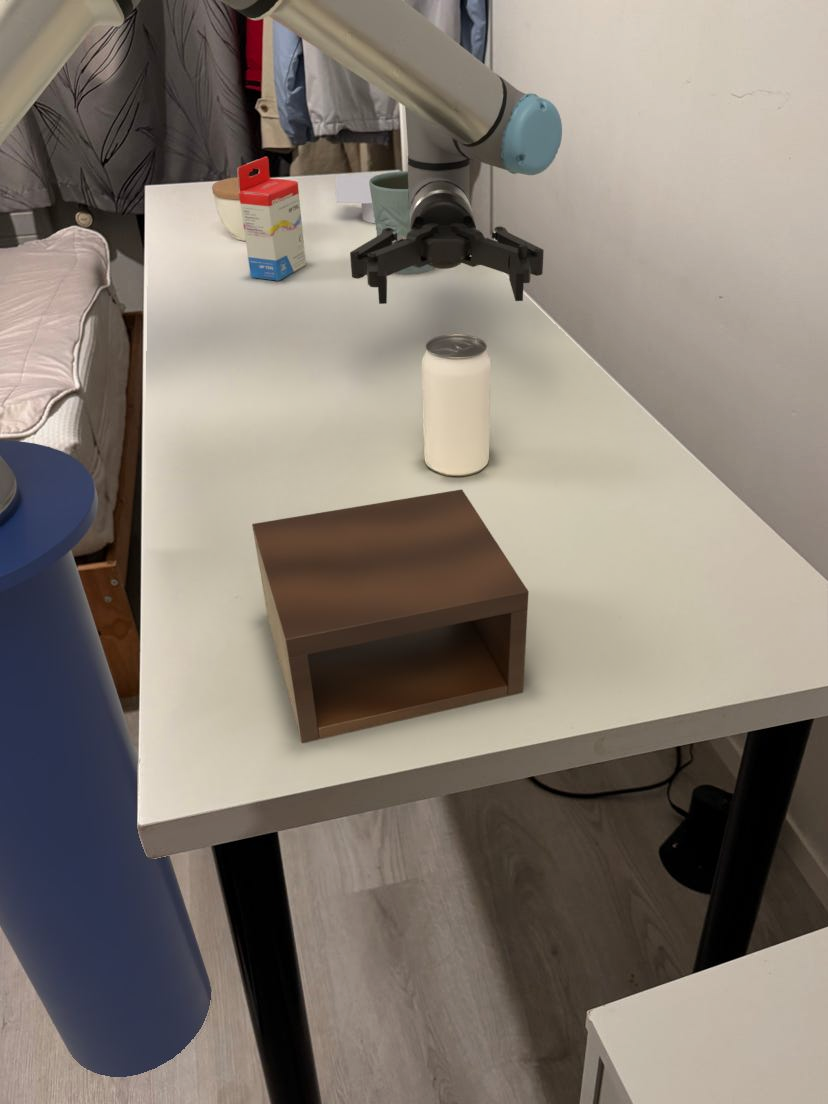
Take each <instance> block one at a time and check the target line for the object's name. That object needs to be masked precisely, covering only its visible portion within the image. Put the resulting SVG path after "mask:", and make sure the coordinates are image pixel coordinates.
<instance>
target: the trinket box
mask: <svg viewBox="0 0 828 1104" xmlns="http://www.w3.org/2000/svg"><path fill="white" fill-rule="evenodd" d="M252 176H253V175H251V176H250V175H249V177H252ZM270 179H272V178H271V177H270ZM211 189H212V190H211V191H212V194H213V198H214V199H213V200H214V203H215V208H216V211H217V212H216V213H217V215H218V217H219V220H220V222H221V223H222V226H223V227H224V228H225V229H226V230H227V231H228V233H230V234H232V235H233V237H234V239H236V240H238V241H243V242H246V239H245V232H244V225H243V218H242V212H241V205H240V198H239V184H238V176H235V177H228V178H224V179H221V180H218V181H216V182H214V183H213V184H212V186H211Z"/></svg>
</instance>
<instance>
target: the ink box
mask: <svg viewBox="0 0 828 1104" xmlns="http://www.w3.org/2000/svg"><path fill="white" fill-rule="evenodd" d="M269 160H270V159H269V157H268V156H264V157H261V158H258V159H255V160H253V161H250V162H247V163H246V164H243V165H240V166H238V167H237V169H236V171H237V172H236V173H237V177H238V184H239V198H240V205H241V212H242V218H243V225H244V232H245V239H246V241H245V246H246V252H247V259H248V266H249V274H250V277H251V278H254V279H261V280H268V281H277V282H278V281H279V282H280V281H281V280H282V279H285V278H287V277H288V276H290V275H291V274H293V273H295V272H296V271H298V270H300V269H302V268H303V267H305V266H306V265H307V260H306V252H305V250H306V249H305V240H304V229H303V220H302V213H301V212H302V211H301V203H300V201H301V200H300V190H299V182H298V181H296V180H291V179H285V178H283V179H282V178H271V176H270V161H269ZM253 170H258V173H256V174H254V175H251V176H252V177H249V176H250V173H251V172H253ZM270 178H271V179H270Z"/></svg>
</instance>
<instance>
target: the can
mask: <svg viewBox="0 0 828 1104" xmlns="http://www.w3.org/2000/svg"><path fill="white" fill-rule="evenodd" d="M487 347H488V346H487V343H486V342H485V341H484V340H483V339H481V338H479V337H476V336H473V335H470V334H469V335H468V334H459V333H455V334H454V333H453V334H451V333H450V334H444V335H439V336H436V337H433V338H431V339H429V340H428V341H427V342H426V344H425V350H426V351H425V353H424V355H423V358H422V360H421V390H422V391H421V392H422V393H421V394H422V425H423V426H422V429H423V431H422V432H423V454H424V455H423V456H424V462H425V464H426V466H427V467H429V469H430V470H431V471H433V472H435V473H437V474H440V475H443V476H447V477H466V476H472V475H475V474H477V473H479V472H481V471H482V470H483V469H484V468H485V467H486V465H488V463H489V460H490V459H489V458H490V435H491V434H490V431H491V429H490V426H491V385H492V384H491V383H492V382H491V380H492V379H491V378H492V375H491V374H492V373H491V372H492V367H491V366H492V365H491V364H492V363H491V359H490V357H489V354H488V352H487Z"/></svg>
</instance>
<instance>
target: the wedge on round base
mask: <svg viewBox="0 0 828 1104" xmlns="http://www.w3.org/2000/svg"><path fill="white" fill-rule="evenodd" d="M376 175H377V174H335V201H334V202H335V204H361V216H362V217H361V218H362V220H364V221H365V222H368V223H369V224H375V218H374V211H373V207H374V206H373V202H372V198H371V192H370V185H369V181H370V179H371V178H372V177H374V176H376Z"/></svg>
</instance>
